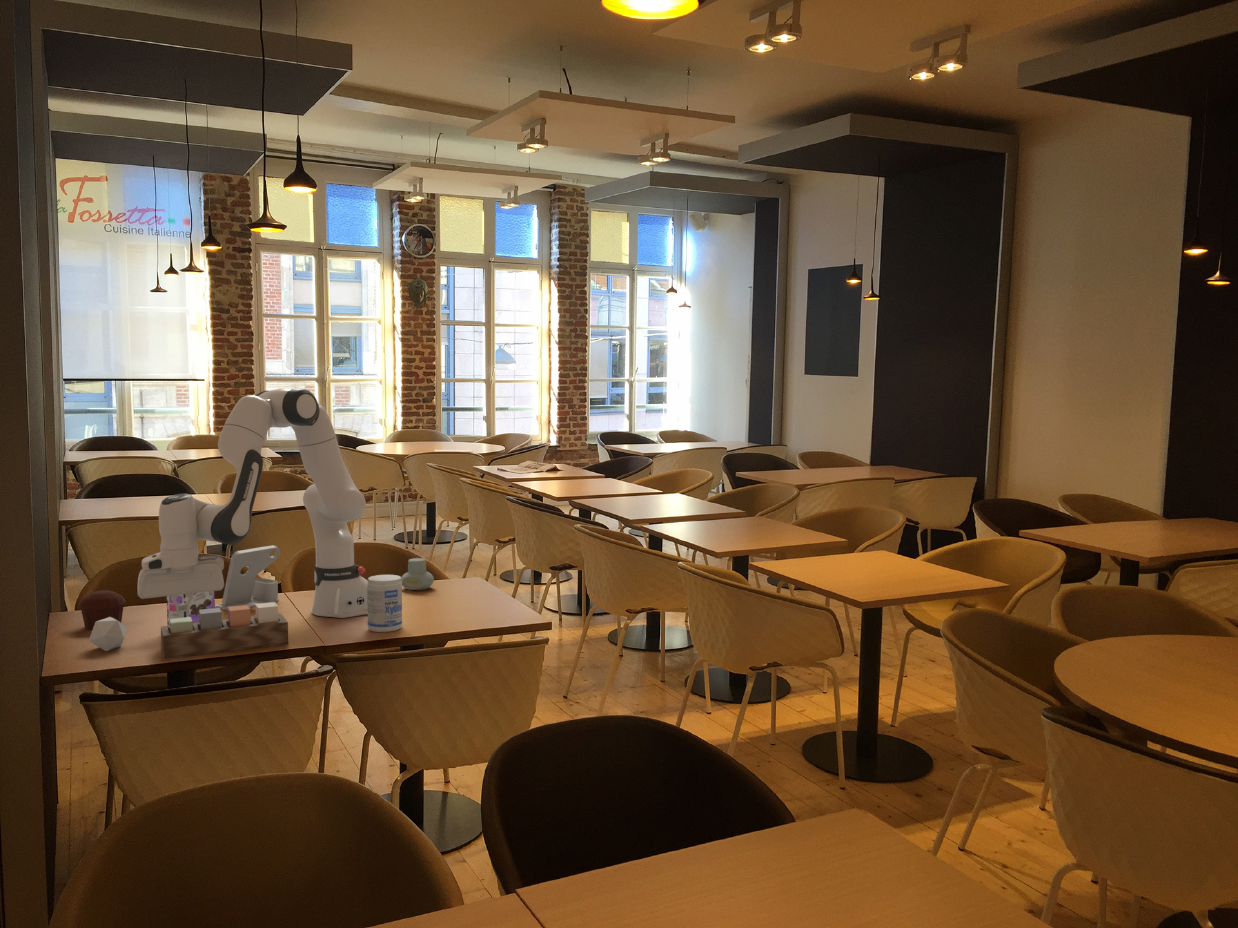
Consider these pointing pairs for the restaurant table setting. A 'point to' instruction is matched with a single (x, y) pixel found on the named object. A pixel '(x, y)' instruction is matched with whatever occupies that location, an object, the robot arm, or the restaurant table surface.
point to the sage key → (181, 625)
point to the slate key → (210, 618)
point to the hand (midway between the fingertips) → (182, 610)
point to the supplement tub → (384, 603)
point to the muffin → (101, 607)
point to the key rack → (223, 638)
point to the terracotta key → (239, 615)
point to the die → (108, 634)
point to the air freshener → (417, 575)
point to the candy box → (190, 606)
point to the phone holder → (250, 579)
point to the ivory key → (266, 612)
